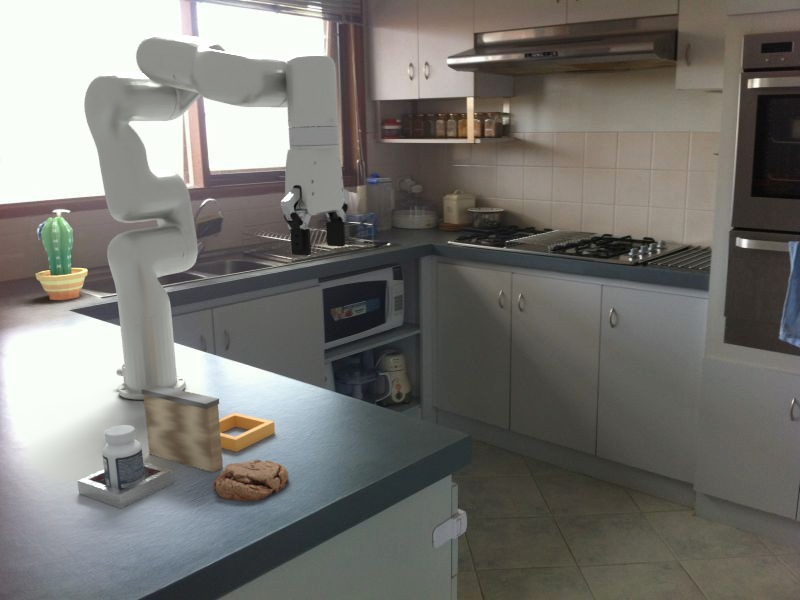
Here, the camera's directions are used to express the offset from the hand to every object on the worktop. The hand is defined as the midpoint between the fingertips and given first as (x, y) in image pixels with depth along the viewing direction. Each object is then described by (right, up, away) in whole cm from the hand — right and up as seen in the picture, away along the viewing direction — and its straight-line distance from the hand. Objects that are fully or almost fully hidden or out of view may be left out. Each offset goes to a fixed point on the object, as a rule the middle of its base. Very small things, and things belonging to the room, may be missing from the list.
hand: (319, 250), depth 125 cm
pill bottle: (-26, -35, -12) cm, 45 cm away
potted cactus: (-93, -7, +125) cm, 156 cm away
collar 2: (-14, -30, +6) cm, 34 cm away
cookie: (-8, -35, -12) cm, 38 cm away
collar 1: (-26, -35, -12) cm, 45 cm away
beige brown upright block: (-20, -33, -3) cm, 38 cm away
